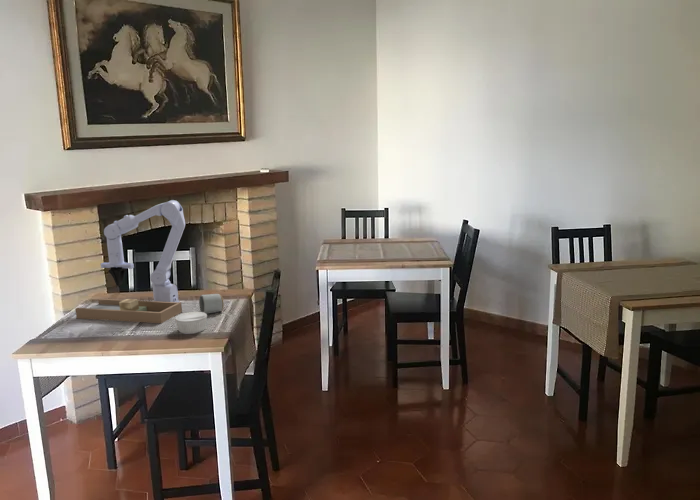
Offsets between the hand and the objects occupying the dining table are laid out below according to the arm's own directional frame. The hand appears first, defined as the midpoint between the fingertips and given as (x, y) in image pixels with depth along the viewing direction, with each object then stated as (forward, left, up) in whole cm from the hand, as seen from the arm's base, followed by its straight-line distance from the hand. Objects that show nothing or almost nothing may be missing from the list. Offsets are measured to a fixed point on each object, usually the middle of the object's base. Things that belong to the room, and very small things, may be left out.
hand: (119, 285), depth 242 cm
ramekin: (-46, +22, -10) cm, 52 cm away
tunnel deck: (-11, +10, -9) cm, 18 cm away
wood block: (-12, +10, -7) cm, 17 cm away
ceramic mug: (-42, 0, -10) cm, 43 cm away
